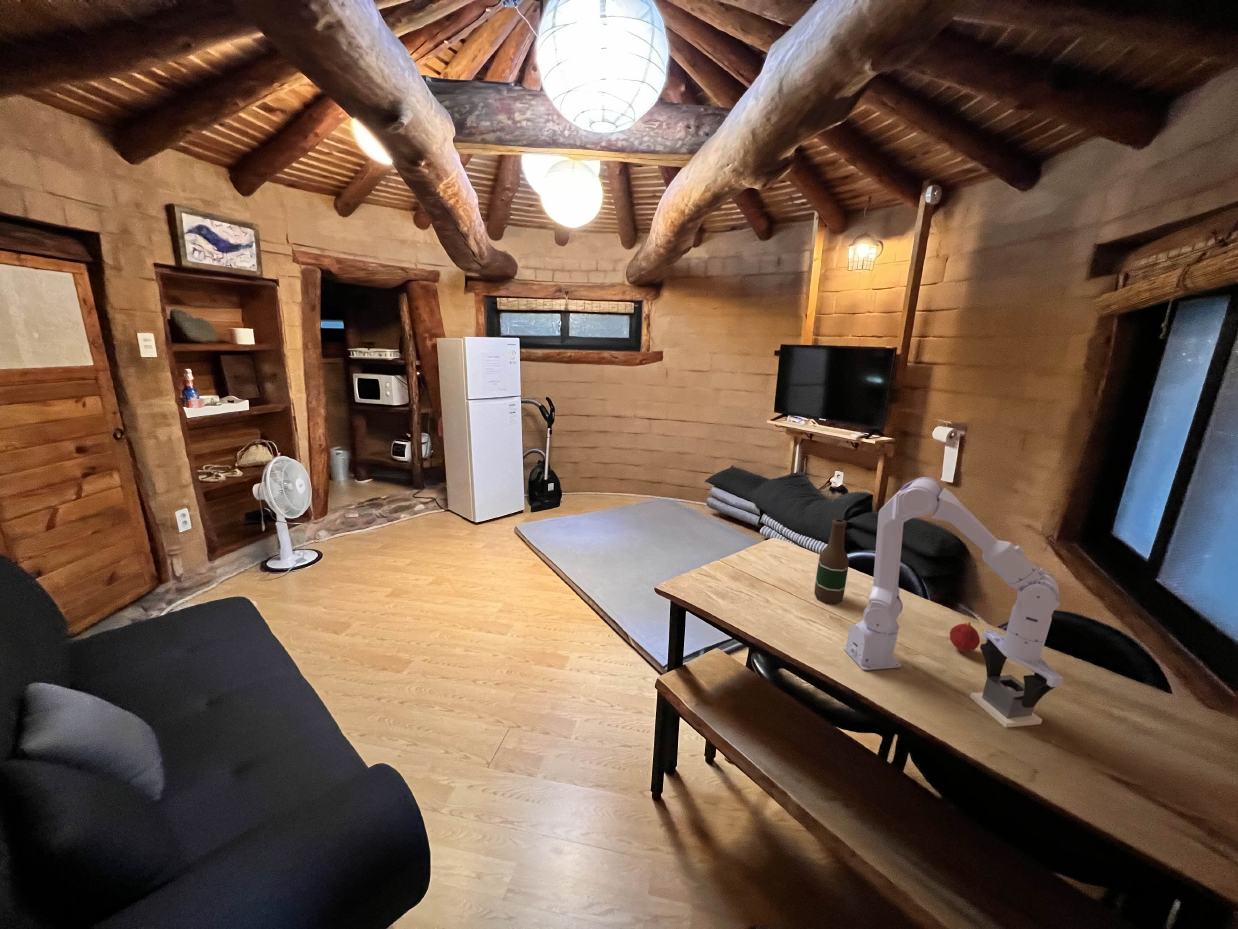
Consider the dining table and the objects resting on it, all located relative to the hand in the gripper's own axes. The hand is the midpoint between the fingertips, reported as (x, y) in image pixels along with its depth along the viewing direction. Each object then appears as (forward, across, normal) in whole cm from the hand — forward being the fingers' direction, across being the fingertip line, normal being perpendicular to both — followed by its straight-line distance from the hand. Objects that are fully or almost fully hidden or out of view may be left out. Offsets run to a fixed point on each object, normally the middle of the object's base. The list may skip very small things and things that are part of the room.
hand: (1009, 692), depth 94 cm
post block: (+4, 0, 0) cm, 4 cm away
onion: (+5, +18, -7) cm, 20 cm away
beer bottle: (+5, +44, +12) cm, 46 cm away
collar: (+3, 0, 0) cm, 3 cm away
